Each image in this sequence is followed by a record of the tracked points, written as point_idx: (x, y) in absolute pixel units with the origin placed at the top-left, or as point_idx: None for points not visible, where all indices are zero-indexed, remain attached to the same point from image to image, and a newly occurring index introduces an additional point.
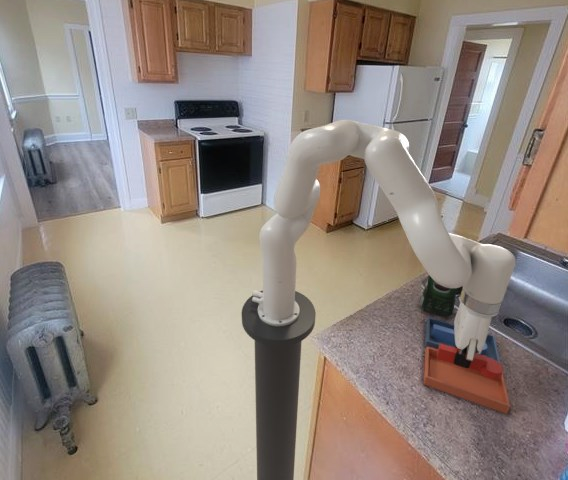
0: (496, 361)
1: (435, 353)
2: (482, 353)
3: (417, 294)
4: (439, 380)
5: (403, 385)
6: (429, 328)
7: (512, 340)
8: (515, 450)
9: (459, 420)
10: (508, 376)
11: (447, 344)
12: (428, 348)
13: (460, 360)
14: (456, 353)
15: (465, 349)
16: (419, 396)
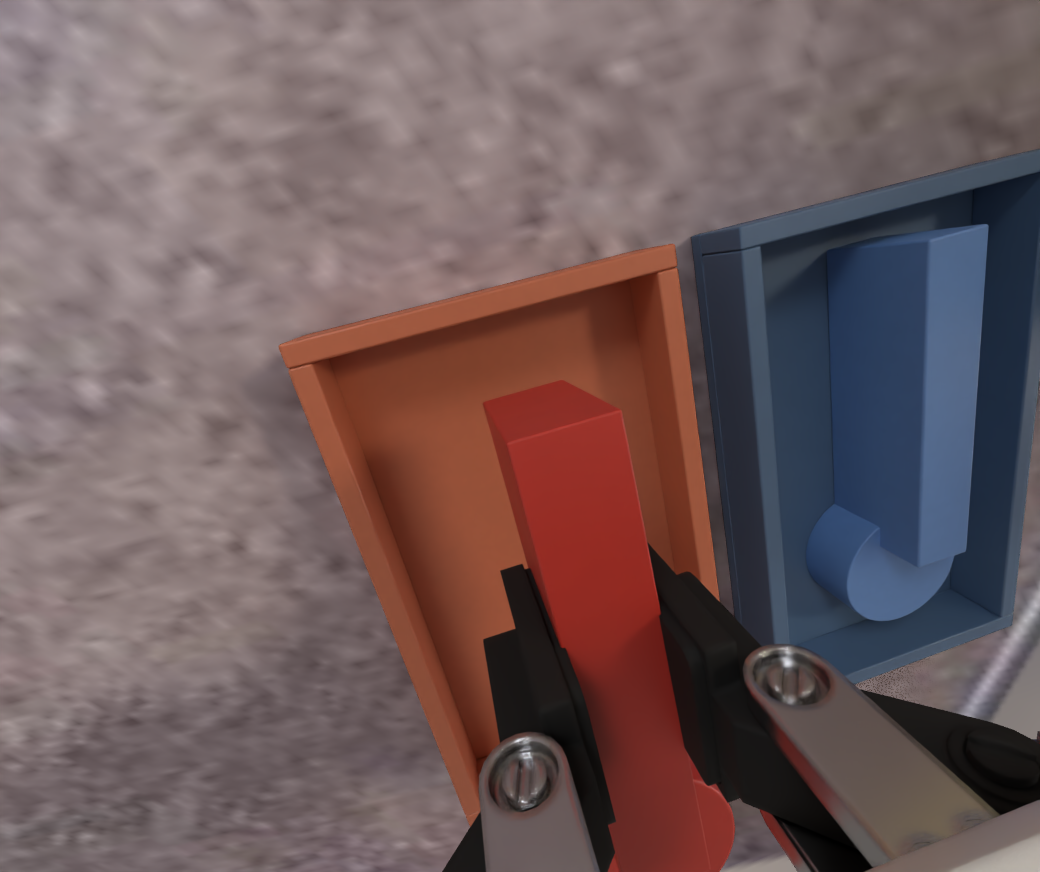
0: (719, 861)
1: (650, 335)
2: (827, 589)
3: None
4: (339, 457)
5: (145, 187)
6: (913, 203)
7: (1000, 658)
8: (265, 838)
9: (203, 612)
10: None
11: (807, 381)
12: (652, 267)
13: (494, 690)
14: (532, 674)
15: (682, 718)
16: (156, 343)
